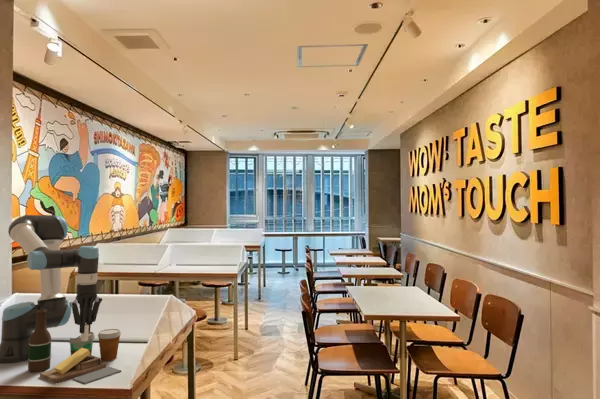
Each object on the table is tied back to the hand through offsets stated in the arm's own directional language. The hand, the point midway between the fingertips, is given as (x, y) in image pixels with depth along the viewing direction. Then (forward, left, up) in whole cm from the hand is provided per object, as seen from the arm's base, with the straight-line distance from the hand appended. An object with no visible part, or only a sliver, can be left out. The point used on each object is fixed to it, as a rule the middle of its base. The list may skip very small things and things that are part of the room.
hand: (84, 340), depth 166 cm
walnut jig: (+1, -4, -11) cm, 12 cm away
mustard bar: (+1, -5, -10) cm, 11 cm away
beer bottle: (-14, -10, -12) cm, 21 cm away
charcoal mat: (+12, -1, -11) cm, 17 cm away
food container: (-12, +8, -12) cm, 19 cm away
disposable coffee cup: (-2, +13, -12) cm, 18 cm away
